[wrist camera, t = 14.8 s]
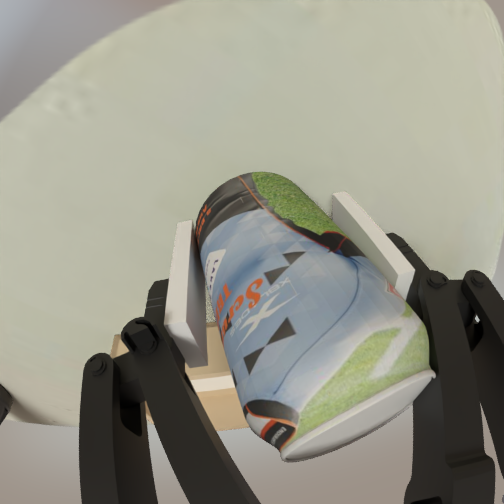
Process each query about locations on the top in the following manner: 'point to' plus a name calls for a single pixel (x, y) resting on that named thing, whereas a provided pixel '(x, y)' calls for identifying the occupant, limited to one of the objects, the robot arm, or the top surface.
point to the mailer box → (208, 383)
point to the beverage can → (305, 319)
